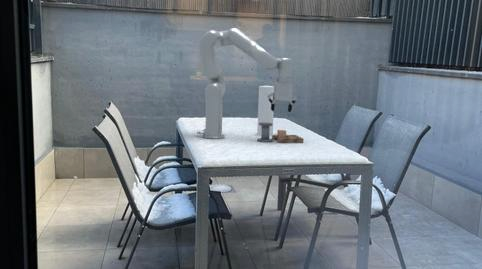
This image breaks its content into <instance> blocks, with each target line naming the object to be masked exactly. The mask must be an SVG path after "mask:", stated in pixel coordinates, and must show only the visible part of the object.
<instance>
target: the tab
mask: <svg viewBox="0 0 482 269" xmlns="http://www.w3.org/2000/svg"><path fill="white" fill-rule="evenodd" d="M276 135H277V137H286V135H287V130H285V129H277V132H276Z"/></svg>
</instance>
